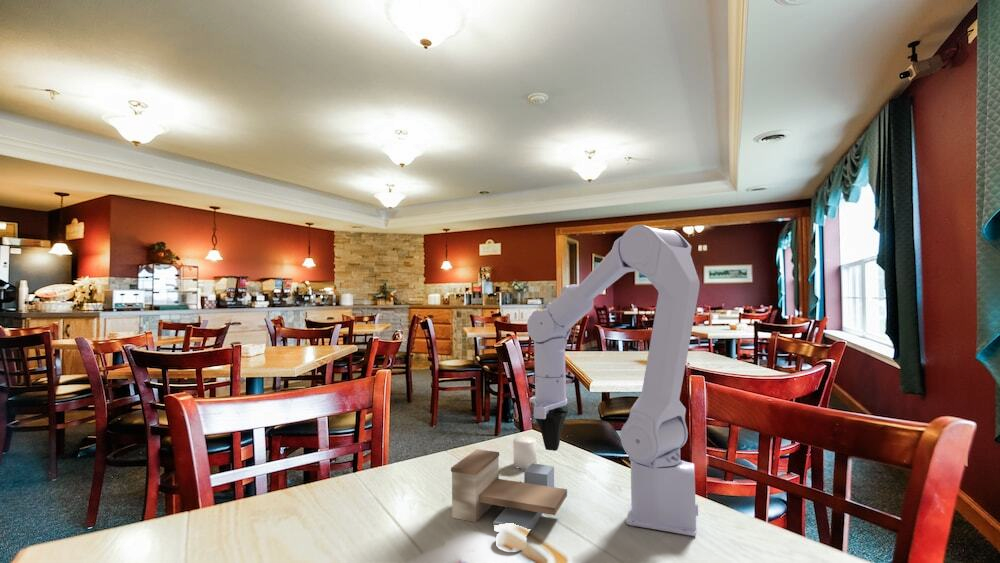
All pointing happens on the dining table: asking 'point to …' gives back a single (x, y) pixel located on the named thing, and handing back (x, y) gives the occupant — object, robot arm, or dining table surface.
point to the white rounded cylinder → (524, 452)
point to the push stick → (523, 517)
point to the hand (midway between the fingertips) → (551, 449)
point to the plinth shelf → (496, 489)
